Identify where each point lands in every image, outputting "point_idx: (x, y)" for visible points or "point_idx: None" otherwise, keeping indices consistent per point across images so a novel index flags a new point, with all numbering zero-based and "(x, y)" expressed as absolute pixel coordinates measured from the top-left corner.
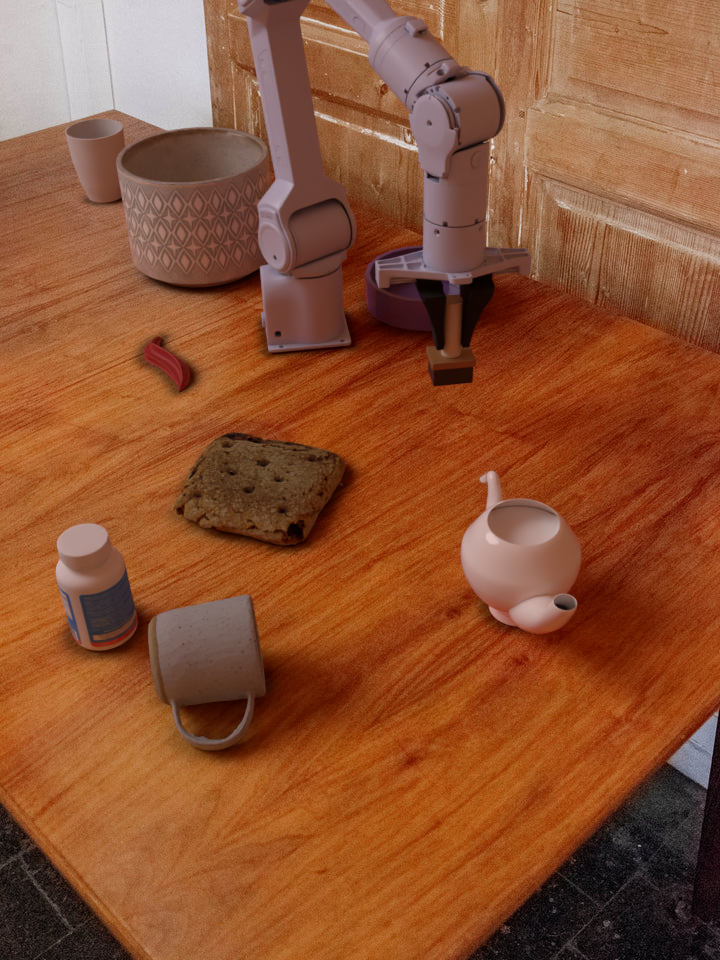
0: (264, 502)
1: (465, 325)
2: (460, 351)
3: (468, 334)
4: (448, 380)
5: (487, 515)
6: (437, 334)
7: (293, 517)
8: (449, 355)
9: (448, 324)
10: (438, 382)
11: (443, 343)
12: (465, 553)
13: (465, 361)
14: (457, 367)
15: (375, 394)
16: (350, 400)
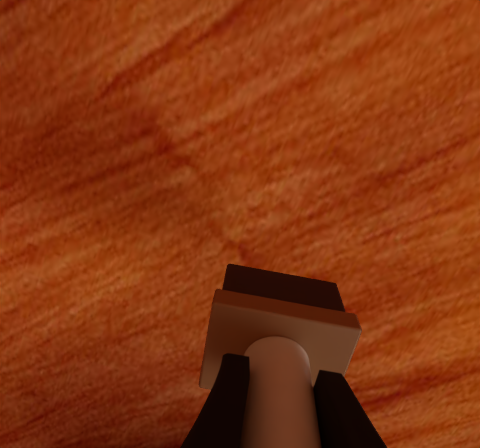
0: None
1: (238, 445)
2: (250, 352)
3: (230, 396)
4: (297, 283)
5: None
6: (372, 435)
7: None
8: (294, 347)
9: None
10: (325, 286)
11: (330, 389)
12: None
13: (249, 308)
14: (275, 301)
15: (368, 356)
16: (420, 356)
